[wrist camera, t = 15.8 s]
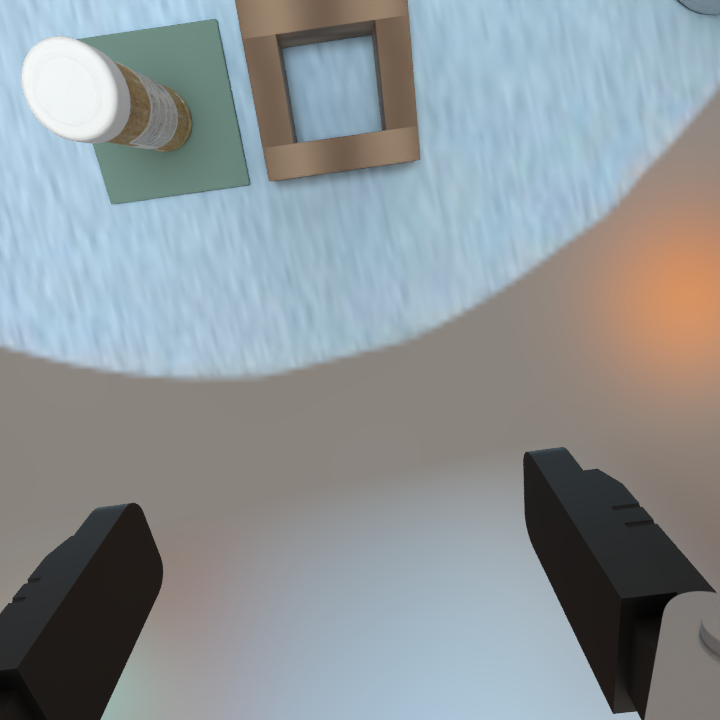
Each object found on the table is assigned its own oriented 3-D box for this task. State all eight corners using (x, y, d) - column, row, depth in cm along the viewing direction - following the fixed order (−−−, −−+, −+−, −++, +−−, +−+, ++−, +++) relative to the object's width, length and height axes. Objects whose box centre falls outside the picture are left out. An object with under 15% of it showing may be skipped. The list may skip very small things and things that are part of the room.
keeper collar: (399, -7, 34) (405, -27, 30) (413, 161, 38) (420, 159, 34) (245, 16, 34) (234, -1, 31) (275, 181, 38) (269, 181, 34)
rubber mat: (217, 20, 34) (215, 18, 33) (250, 184, 38) (249, 184, 37) (64, 43, 34) (61, 41, 34) (113, 204, 38) (111, 204, 38)
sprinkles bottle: (119, 120, 35) (-2, 90, 23) (155, 69, 34) (49, 9, 22) (170, 166, 37) (82, 161, 24) (206, 119, 36) (134, 88, 23)
